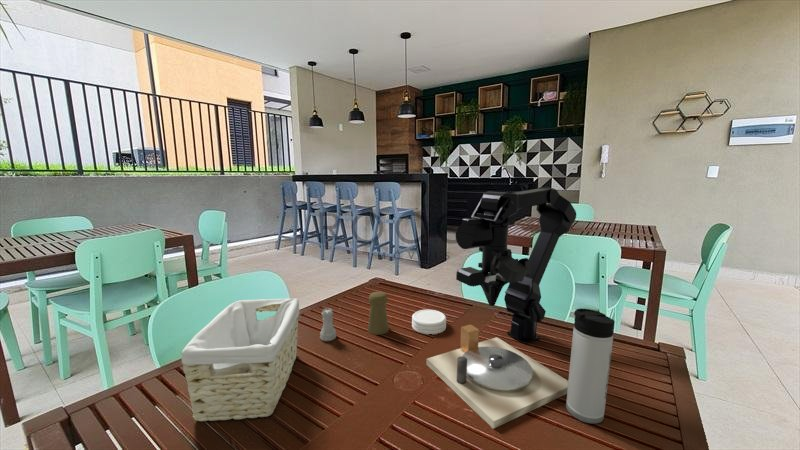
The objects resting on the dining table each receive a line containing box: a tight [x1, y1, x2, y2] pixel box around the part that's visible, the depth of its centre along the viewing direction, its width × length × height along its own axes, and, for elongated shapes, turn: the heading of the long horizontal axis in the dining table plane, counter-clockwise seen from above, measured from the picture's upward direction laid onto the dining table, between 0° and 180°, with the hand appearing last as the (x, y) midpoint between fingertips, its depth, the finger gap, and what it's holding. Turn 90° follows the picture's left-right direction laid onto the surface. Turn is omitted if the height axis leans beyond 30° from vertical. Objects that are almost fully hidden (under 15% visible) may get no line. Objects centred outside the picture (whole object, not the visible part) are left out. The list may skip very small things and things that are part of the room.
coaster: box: [411, 309, 447, 335], centre depth 96 cm, size 10×10×4 cm
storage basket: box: [181, 297, 300, 422], centre depth 69 cm, size 24×16×15 cm
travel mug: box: [565, 308, 616, 425], centre depth 60 cm, size 6×7×20 cm
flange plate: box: [459, 324, 533, 392], centre depth 73 cm, size 18×15×6 cm
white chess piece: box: [319, 307, 337, 342], centre depth 89 cm, size 4×4×8 cm
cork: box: [367, 291, 390, 336], centre depth 93 cm, size 6×6×11 cm
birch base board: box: [426, 336, 569, 430], centre depth 72 cm, size 22×22×6 cm
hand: (491, 305), depth 82 cm, fingers closed
